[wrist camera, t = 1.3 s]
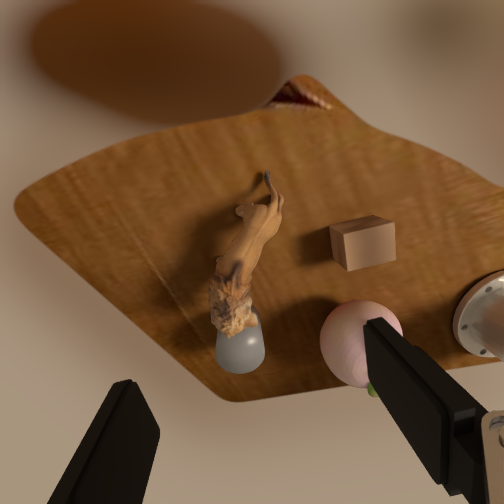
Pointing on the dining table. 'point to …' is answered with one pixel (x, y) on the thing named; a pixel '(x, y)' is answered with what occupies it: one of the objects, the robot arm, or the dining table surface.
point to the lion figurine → (242, 265)
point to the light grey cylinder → (241, 349)
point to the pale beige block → (363, 242)
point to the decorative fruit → (351, 340)
